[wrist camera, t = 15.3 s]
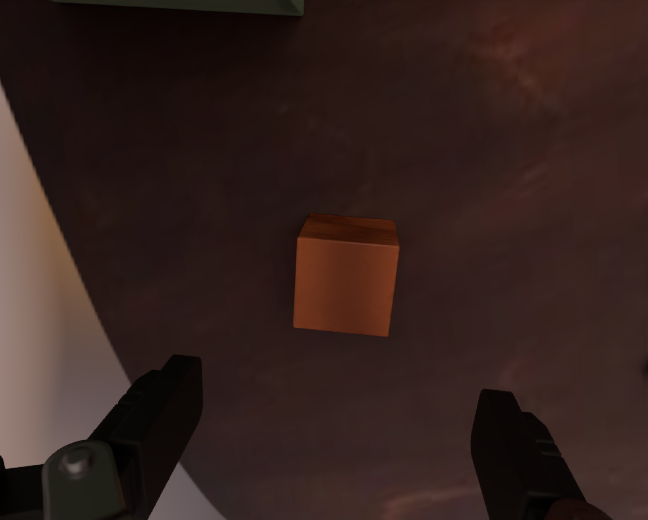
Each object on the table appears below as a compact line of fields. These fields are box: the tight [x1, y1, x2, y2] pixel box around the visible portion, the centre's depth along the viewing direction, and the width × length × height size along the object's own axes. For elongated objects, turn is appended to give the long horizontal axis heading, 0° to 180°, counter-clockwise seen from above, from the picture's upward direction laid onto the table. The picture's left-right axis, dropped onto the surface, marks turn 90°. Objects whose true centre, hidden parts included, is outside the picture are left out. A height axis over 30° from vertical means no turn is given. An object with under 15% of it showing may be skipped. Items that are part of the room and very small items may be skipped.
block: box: [293, 213, 400, 337], centre depth 22 cm, size 4×4×4 cm
